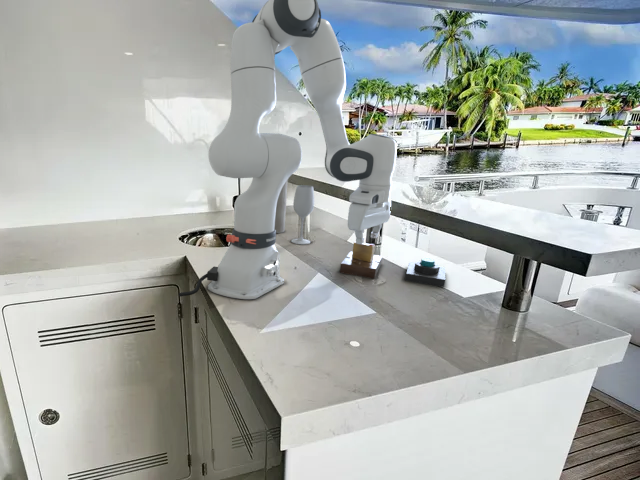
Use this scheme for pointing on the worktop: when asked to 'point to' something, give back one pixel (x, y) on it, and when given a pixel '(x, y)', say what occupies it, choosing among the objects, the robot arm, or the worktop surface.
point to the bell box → (426, 274)
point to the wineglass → (303, 207)
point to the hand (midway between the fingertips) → (366, 240)
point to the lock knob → (363, 251)
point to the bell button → (427, 262)
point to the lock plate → (360, 266)
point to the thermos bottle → (281, 210)
